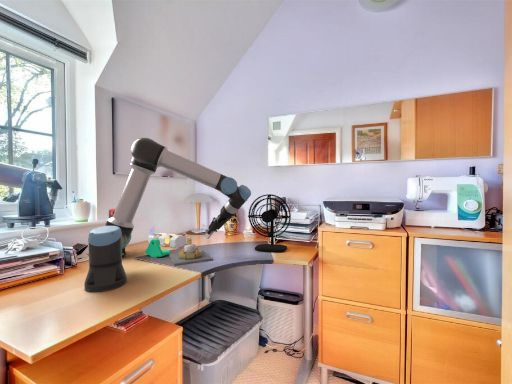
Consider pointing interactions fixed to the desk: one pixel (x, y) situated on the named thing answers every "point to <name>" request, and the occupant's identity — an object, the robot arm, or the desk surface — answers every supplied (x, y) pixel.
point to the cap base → (180, 261)
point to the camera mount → (155, 249)
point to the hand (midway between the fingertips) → (206, 236)
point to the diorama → (168, 239)
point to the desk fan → (268, 217)
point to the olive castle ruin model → (189, 255)
